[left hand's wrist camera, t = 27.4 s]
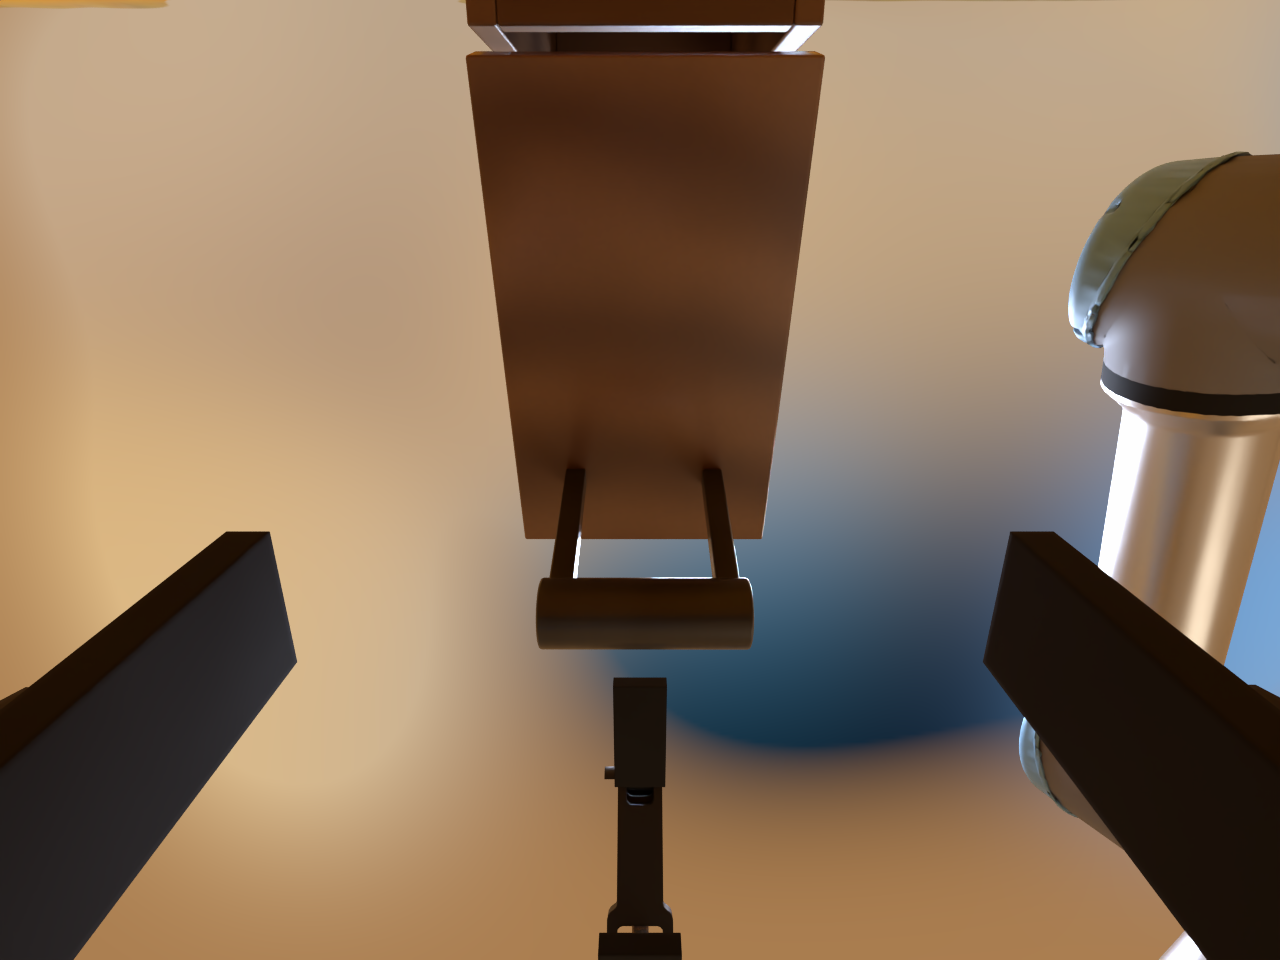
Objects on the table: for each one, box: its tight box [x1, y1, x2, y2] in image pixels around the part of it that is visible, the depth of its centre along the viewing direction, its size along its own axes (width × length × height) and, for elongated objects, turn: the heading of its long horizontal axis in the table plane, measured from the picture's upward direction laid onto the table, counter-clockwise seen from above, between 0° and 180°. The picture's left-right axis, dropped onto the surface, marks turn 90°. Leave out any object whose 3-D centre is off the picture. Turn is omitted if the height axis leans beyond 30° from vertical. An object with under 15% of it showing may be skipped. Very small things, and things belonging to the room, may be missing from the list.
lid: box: [466, 51, 825, 649], centre depth 19 cm, size 16×9×9 cm
